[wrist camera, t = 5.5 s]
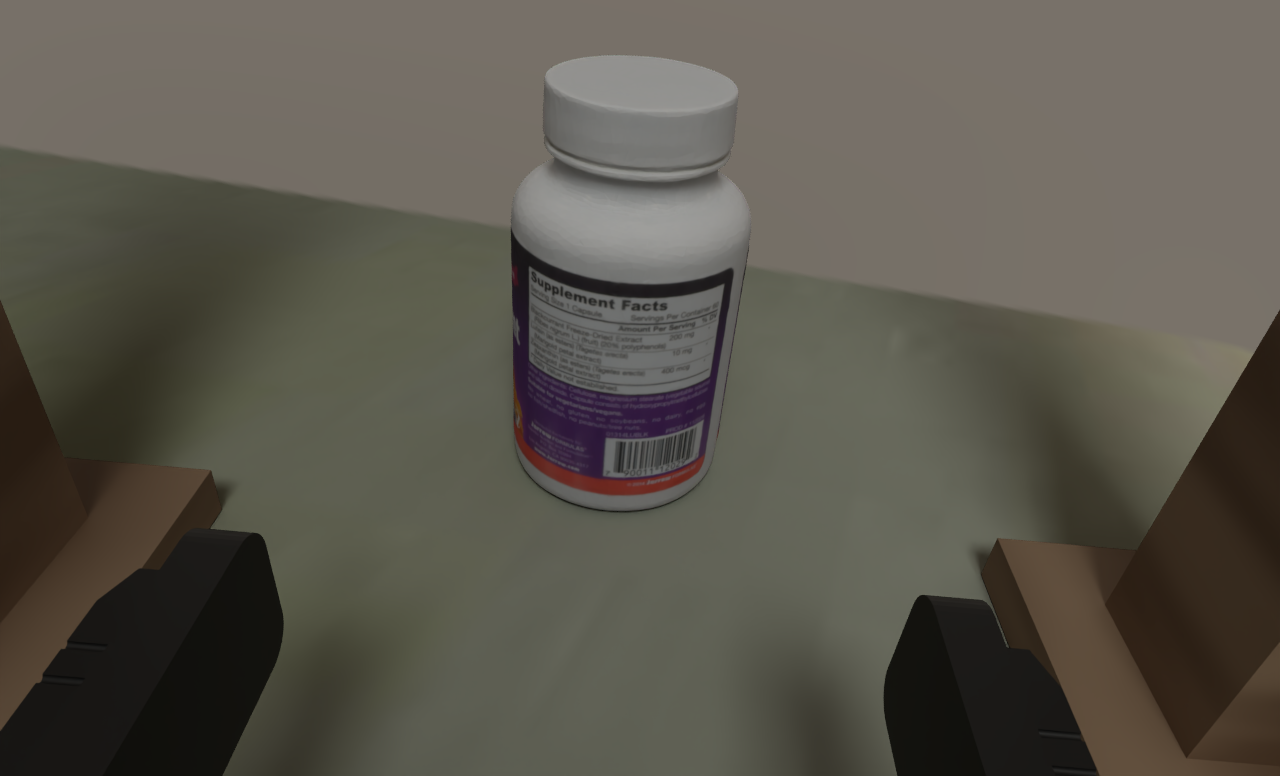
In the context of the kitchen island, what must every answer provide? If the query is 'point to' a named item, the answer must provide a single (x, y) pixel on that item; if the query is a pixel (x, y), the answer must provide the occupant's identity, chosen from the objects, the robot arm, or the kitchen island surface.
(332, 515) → the kitchen island surface
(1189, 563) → the walnut post
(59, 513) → the walnut post
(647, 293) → the pill bottle
